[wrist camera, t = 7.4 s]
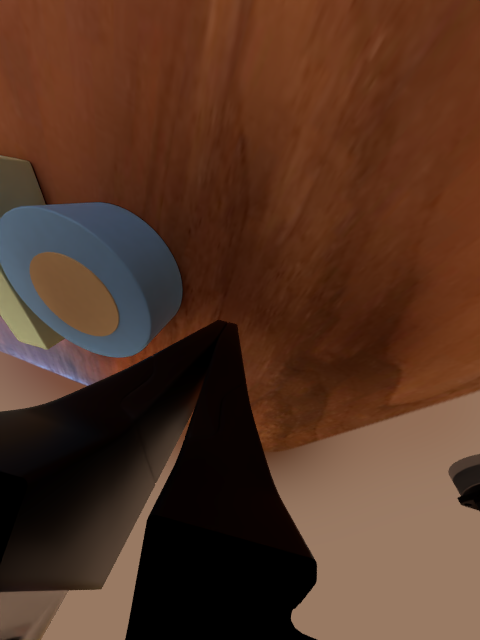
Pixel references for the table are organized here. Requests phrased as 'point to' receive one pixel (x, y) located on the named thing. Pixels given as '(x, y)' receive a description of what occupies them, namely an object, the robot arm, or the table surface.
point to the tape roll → (91, 273)
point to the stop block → (3, 195)
